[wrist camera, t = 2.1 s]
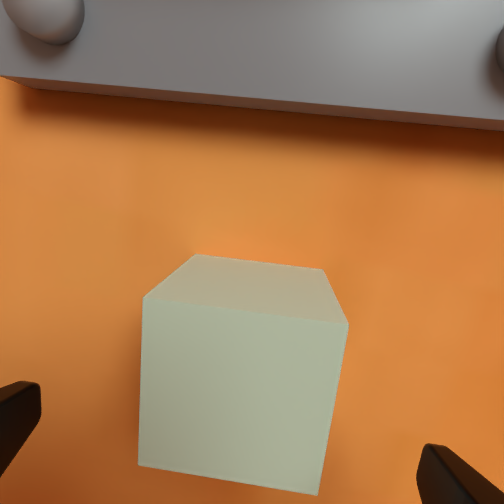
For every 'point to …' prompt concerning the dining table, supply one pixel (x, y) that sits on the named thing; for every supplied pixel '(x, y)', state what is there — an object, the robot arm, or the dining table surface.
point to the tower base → (270, 54)
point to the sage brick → (240, 372)
